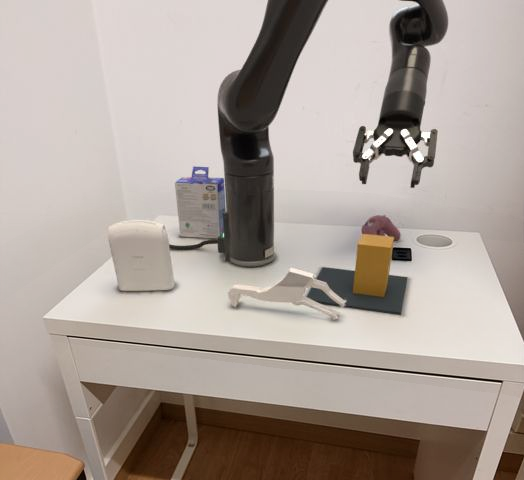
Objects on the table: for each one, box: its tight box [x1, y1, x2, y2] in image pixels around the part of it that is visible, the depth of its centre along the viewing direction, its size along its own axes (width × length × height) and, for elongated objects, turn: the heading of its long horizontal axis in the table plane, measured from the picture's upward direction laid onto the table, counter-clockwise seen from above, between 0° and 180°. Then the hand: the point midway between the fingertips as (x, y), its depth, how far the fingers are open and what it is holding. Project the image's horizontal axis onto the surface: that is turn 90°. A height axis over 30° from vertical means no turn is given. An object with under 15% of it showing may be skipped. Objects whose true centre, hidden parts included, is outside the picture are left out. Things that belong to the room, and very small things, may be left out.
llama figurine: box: [227, 267, 347, 321], centre depth 78 cm, size 2×11×18 cm
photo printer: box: [107, 219, 176, 292], centre depth 84 cm, size 10×4×12 cm, turn 89°
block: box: [353, 233, 395, 297], centre depth 82 cm, size 5×5×9 cm
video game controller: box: [360, 214, 402, 241], centre depth 102 cm, size 10×5×7 cm, turn 144°
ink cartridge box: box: [174, 166, 226, 240], centre depth 106 cm, size 10×6×14 cm, turn 78°
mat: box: [306, 266, 408, 316], centre depth 86 cm, size 16×14×1 cm
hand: (387, 183), depth 85 cm, fingers open, 8 cm apart
